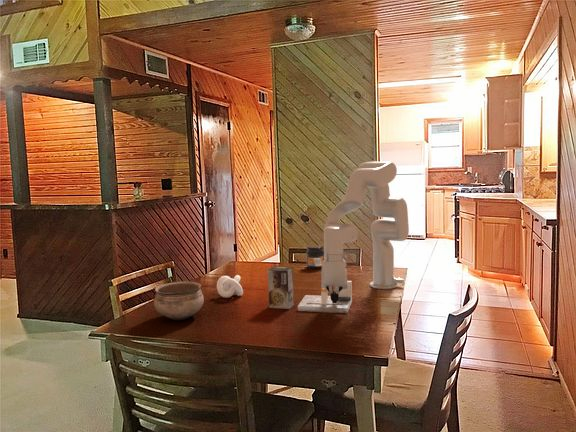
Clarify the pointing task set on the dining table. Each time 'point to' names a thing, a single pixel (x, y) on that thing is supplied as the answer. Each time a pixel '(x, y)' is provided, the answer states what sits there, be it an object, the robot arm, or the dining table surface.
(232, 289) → the white rounded piece
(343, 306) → the console
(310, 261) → the supplement container
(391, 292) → the dining table surface
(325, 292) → the fader tab
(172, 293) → the cooking pot
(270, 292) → the coffee box
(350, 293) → the dial
